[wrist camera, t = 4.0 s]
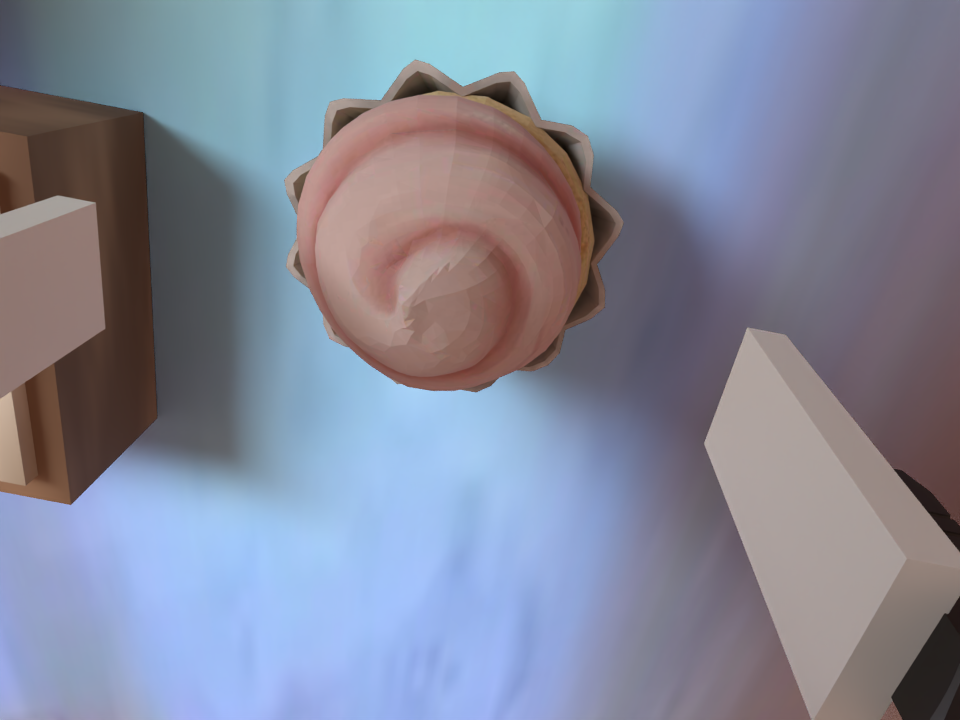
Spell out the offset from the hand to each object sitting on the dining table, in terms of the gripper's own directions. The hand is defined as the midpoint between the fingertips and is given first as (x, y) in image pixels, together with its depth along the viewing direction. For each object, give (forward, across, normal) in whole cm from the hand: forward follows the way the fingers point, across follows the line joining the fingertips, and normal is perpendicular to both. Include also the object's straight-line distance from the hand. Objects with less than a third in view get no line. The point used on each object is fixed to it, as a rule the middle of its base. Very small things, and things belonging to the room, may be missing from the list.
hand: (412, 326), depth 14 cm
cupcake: (+11, 0, 0) cm, 11 cm away
